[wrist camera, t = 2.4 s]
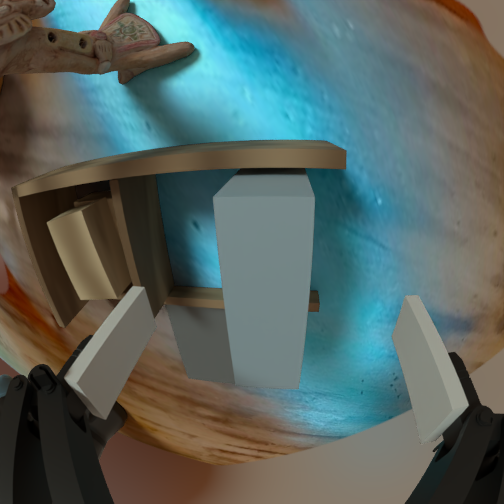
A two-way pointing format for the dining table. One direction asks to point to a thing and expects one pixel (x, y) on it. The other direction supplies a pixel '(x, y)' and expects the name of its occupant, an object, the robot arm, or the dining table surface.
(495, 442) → the robot arm
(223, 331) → the mat
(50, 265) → the rack
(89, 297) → the offcut upper
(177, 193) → the dining table surface
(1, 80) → the flower pot
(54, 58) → the figurine
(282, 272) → the grey rectangular block
